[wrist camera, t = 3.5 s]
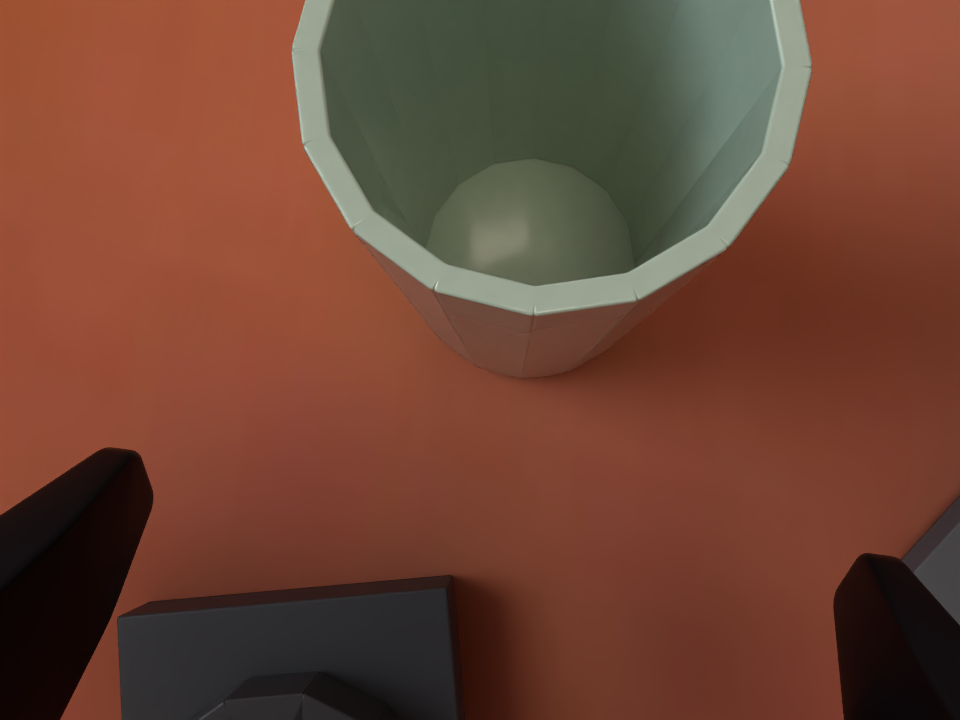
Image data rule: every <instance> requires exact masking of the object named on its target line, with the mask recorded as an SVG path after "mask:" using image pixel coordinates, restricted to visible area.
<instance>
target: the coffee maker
mask: <svg viewBox="0 0 960 720" xmlns="http://www.w3.org/2000/svg"><path fill="white" fill-rule="evenodd" d="M901 561H902V562H904V563H905V564H906V565H907V566H908V568H909V569H910V570H911V571H912V572H913V573H914V574H915V575H916V577H917V578H918V579H919V580H920V581H921V582H922V583H923V584H924V586H925V587H926V588H927V589H928V590H929V591H930V592H931V593H932V595H933V596H934V597H935V598H936V599H937V600H938V601H939V602H940V604H941V605H942V606H943V607H944V608H945V609H946V610H947V611H948V613H949V614H950V615H951V616H952V617H953V618H954V619H955V620H956V622H957V623H958V624H959V625H960V496H959V497H958V498H957V499H956V501H955V502H954V503H953V504H952V505H951V506H950V507H949V508H948V509H947V510H946V512H945V513H944V514H943V515H942V516H941V517H940V518H939V519H938V520H937V521H936V523H935V524H934V525H933V526H932V527H931V528H930V529H929V530H928V531H927V532H926V533H925V535H924V536H923V537H922V538H921V539H920V540H919V541H918V542H917V543H916V544H915V546H914V547H913V548H912V549H911V550H910V551H909V552H908V553H907V554H906V555H905V557H904V558H903V559H902V560H901Z"/></svg>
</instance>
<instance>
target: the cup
mask: <svg viewBox="0 0 960 720" xmlns="http://www.w3.org/2000/svg"><path fill="white" fill-rule="evenodd" d="M292 50H293V51H292V53H291V55H292V64H293V72H294V81H295V89H296V97H297V106H298V114H299V123H300V131H301V139H302V144H303V145H304V150H305V152H306V154H307V155H308V157H309V159H310V160H311V162H312V164H313V166H314V167H315V169H316V171H317V172H318V174H319V176H320V178H321V179H322V181H323V183H324V184H325V186H326V188H327V190H328V191H329V193H330V195H331V196H332V198H333V200H334V202H335V203H336V205H337V207H338V209H339V210H340V212H341V214H342V215H343V217H344V219H345V221H346V222H347V224H348V226H349V227H350V229H351V230H352V231H353V233H354V234H355V235H356V236H357V237H358V239H359V240H360V241H361V242H362V244H363V245H364V246H365V247H366V249H367V250H368V251H369V252H370V254H371V255H372V256H373V257H374V258H375V260H376V261H377V262H378V263H379V265H380V266H381V267H382V268H383V270H384V271H385V272H386V273H387V274H388V276H389V277H390V278H391V279H392V281H393V282H394V283H395V284H396V286H397V287H398V288H399V289H400V291H401V292H402V293H403V294H404V295H405V297H406V298H407V299H408V300H409V302H410V303H411V304H412V305H413V307H414V308H415V309H416V310H417V312H418V313H419V314H420V315H421V316H422V318H423V319H424V320H425V321H426V323H427V324H428V325H429V326H430V328H431V329H432V330H433V331H434V332H435V334H436V335H437V336H438V337H439V338H440V340H441V341H443V342H444V343H445V344H447V345H448V346H449V347H451V348H452V349H453V350H454V351H455V352H457V353H458V354H459V355H460V356H462V357H463V358H465V359H466V360H468V361H469V362H471V363H472V364H473V365H475V366H477V367H479V368H483V369H485V370H488V371H491V372H495V373H498V374H501V375H507V376H512V377H518V378H534V377H546V376H551V375H555V374H560V373H565V372H569V371H572V370H573V369H575V368H577V367H578V366H580V365H582V364H584V363H586V362H588V361H589V360H591V359H592V358H594V357H595V356H597V355H599V354H600V353H602V352H604V351H606V350H607V349H609V348H610V347H611V346H612V345H614V344H615V343H616V342H617V341H618V340H619V339H621V338H622V337H623V336H624V335H625V334H627V333H628V332H629V331H630V330H631V329H633V328H634V327H635V326H636V325H637V324H639V323H640V322H641V321H642V320H643V319H645V318H646V317H647V316H648V315H649V314H650V313H652V312H653V311H654V310H655V309H656V308H658V307H659V306H660V305H661V304H662V303H664V302H665V301H666V300H667V299H668V298H670V297H671V296H672V295H673V294H674V293H676V292H677V291H678V290H679V289H680V288H681V287H683V286H684V285H685V284H686V283H687V282H689V281H690V280H691V279H692V278H693V277H695V276H696V275H697V274H698V273H699V272H701V271H702V270H703V269H704V268H705V267H707V266H708V265H709V264H710V263H711V262H713V261H714V260H715V259H716V258H717V257H718V256H720V255H721V254H722V253H723V252H724V251H726V249H728V248H729V247H730V246H731V245H732V244H733V242H734V241H735V240H736V238H737V237H738V236H739V234H740V233H741V232H742V230H743V229H744V228H745V226H746V225H747V223H748V222H749V221H750V219H751V218H752V217H753V215H754V214H755V213H756V211H757V210H758V209H759V207H760V206H761V205H762V203H763V202H764V201H765V199H766V198H767V197H768V195H769V194H770V193H771V191H772V190H773V188H774V187H775V186H776V184H777V183H778V182H779V180H780V179H781V178H782V176H783V175H784V174H785V172H786V171H787V170H788V166H789V165H790V163H791V160H792V156H793V152H794V147H795V143H796V139H797V135H798V130H799V126H800V122H801V117H802V113H803V109H804V104H805V100H806V96H807V91H808V87H809V83H810V78H811V74H812V69H811V67H812V61H811V56H810V51H809V45H808V40H807V35H806V30H805V24H804V19H803V14H802V9H801V3H800V0H305V4H304V7H303V11H302V14H301V17H300V21H299V24H298V28H297V31H296V35H295V38H294V41H293V45H292Z"/></svg>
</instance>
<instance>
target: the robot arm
mask: <svg viewBox="0 0 960 720" xmlns="http://www.w3.org/2000/svg"><path fill="white" fill-rule="evenodd" d="M152 505H153V490H152V487H151V484H150V481H149V478H148V475H147V472H146V470H145V467H144V464H143V461H142V458H141V456H140V455H139V454H138V453H137V452H136V451H133V450H127V449H120V448H112V447H107V448H103V449H101V450H99V451H97V452H95V453H94V454H92V455H91V456H89V457H88V458H86V459H85V460H83V461H82V462H80V463H79V464H77V465H76V466H74V467H73V468H71V469H70V470H68V471H67V472H65V473H64V474H62V475H61V476H59V477H58V478H56V479H55V480H53V481H52V482H50V483H49V484H47V485H46V486H44V487H43V488H41V489H40V490H38V491H37V492H35V493H34V494H32V495H31V496H29V497H27V498H26V499H24V500H23V501H21V502H20V503H18V504H17V505H15V506H14V507H12V508H11V509H9V510H8V511H6V512H5V513H3V514H2V515H0V720H60V719H61V717H62V715H63V713H64V711H65V709H66V707H67V705H68V703H69V701H70V699H71V697H72V695H73V693H74V691H75V689H76V687H77V685H78V683H79V681H80V679H81V677H82V675H83V673H84V671H85V669H86V667H87V665H88V663H89V661H90V659H91V657H92V655H93V653H94V651H95V649H96V647H97V645H98V643H99V641H100V639H101V637H102V635H103V633H104V631H105V629H106V627H107V624H108V622H109V620H110V618H111V616H112V613H113V611H114V608H115V606H116V603H117V601H118V598H119V595H120V593H121V590H122V587H123V585H124V582H125V579H126V577H127V574H128V571H129V569H130V566H131V563H132V561H133V558H134V555H135V553H136V550H137V547H138V545H139V542H140V539H141V537H142V534H143V531H144V528H145V526H146V523H147V520H148V518H149V515H150V512H151V509H152ZM833 608H834V620H835V630H836V641H837V651H838V662H839V672H840V683H841V693H842V704H843V714H844V720H960V625H959V624H958V623H957V622H956V620H955V619H954V618H953V617H952V616H951V615H950V614H949V613H948V611H947V610H946V609H945V608H944V607H943V606H942V605H941V604H940V602H939V601H938V600H937V599H936V598H935V597H934V596H933V595H932V593H931V592H930V591H929V590H928V589H927V588H926V587H925V586H924V584H923V583H922V582H921V581H920V580H919V579H918V578H917V577H916V575H915V574H914V573H913V572H912V571H911V570H910V569H909V568H908V566H907V565H906V564H905V563H904V562H902V561H901V560H900V559H898V558H896V557H892V556H886V555H879V554H871V553H864V554H862V555H860V556H859V557H858V558H857V559H856V561H855V562H854V564H853V565H852V567H851V568H850V570H849V571H848V573H847V574H846V576H845V577H844V579H843V580H842V582H841V583H840V585H839V586H838V588H837V590H836V593H835V596H834V605H833Z"/></svg>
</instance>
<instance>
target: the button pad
mask: <svg viewBox="0 0 960 720" xmlns="http://www.w3.org/2000/svg"><path fill="white" fill-rule="evenodd" d="M117 626H118V647H119V669H120V690H121V712H122V720H465V710H464V699H463V688H462V677H461V665H460V654H459V643H458V632H457V620H456V609H455V598H454V587H453V577H452V576H451V575H446V576H435V577H423V578H412V579H401V580H389V581H378V582H367V583H356V584H344V585H333V586H322V587H310V588H299V589H288V590H276V591H265V592H254V593H243V594H231V595H220V596H209V597H197V598H186V599H175V600H163V601H152V602H148V603H146V604H144V605H142V606H140V607H137V608H135V609H133V610H131V611H129V612H127V613H125V614H123V615H121V616H119V617H118V618H117Z"/></svg>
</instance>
